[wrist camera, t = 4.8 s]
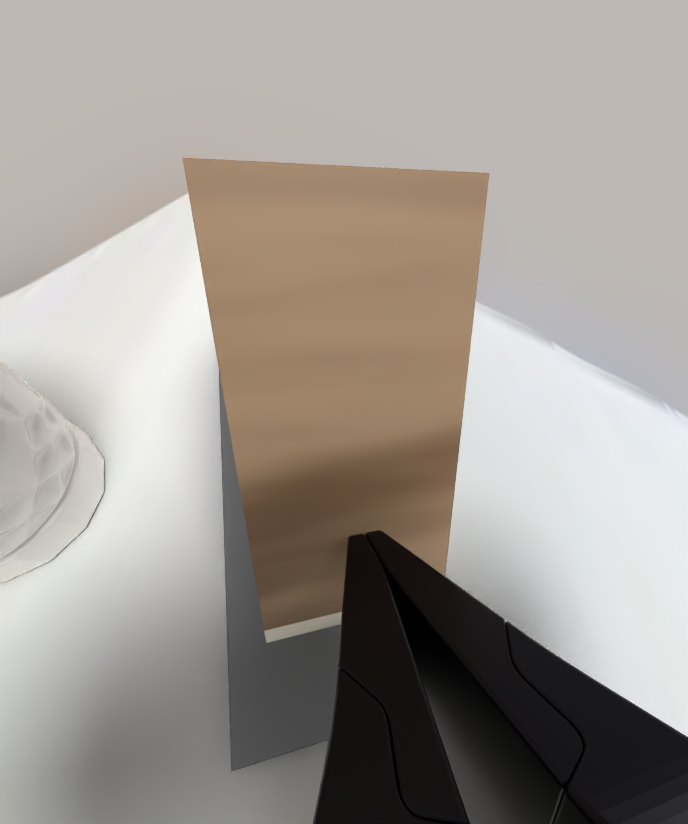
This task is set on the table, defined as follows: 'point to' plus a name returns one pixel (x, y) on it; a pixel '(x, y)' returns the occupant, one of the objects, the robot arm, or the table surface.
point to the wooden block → (338, 360)
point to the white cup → (41, 478)
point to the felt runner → (268, 651)
